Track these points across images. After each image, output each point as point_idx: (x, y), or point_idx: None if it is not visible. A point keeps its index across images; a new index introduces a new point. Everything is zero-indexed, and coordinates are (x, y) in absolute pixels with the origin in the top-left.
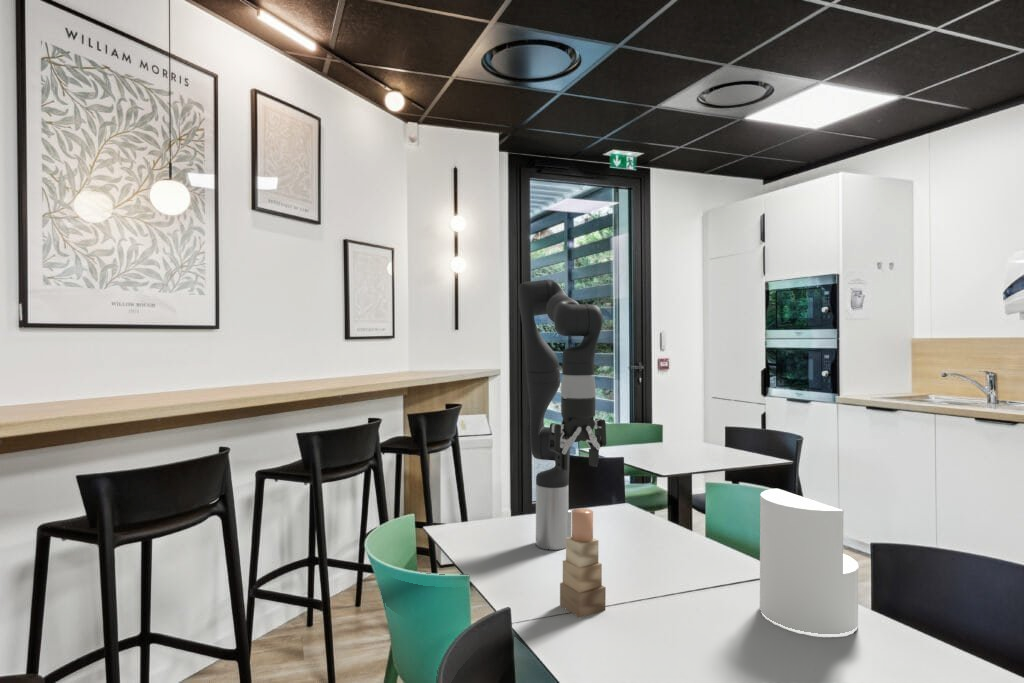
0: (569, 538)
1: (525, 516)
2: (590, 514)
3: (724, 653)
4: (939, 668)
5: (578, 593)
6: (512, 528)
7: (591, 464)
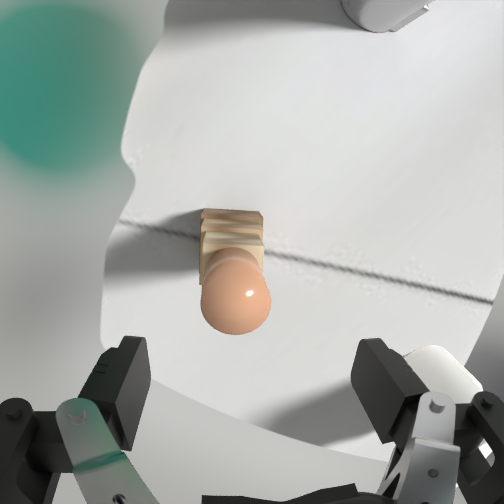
0: (206, 253)
1: None
2: (240, 332)
3: (283, 403)
4: (381, 455)
5: (199, 270)
6: None
7: (359, 358)
